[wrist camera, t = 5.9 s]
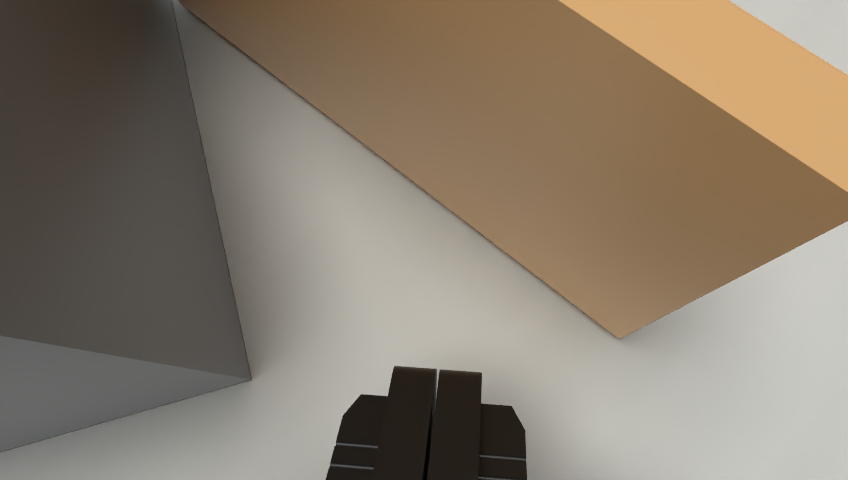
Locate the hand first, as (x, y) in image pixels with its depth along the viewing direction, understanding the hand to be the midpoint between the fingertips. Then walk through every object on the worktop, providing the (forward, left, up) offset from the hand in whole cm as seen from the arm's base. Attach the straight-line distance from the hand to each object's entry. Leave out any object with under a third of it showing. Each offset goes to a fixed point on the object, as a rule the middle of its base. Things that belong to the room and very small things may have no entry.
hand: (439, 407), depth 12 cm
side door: (+1, +7, -5) cm, 9 cm away
